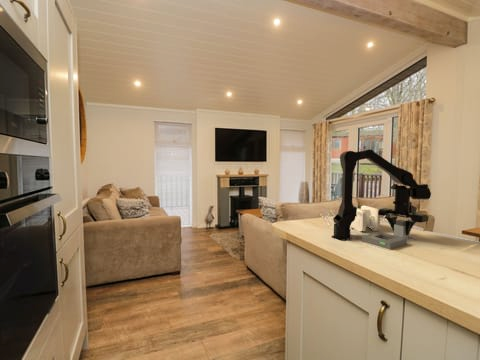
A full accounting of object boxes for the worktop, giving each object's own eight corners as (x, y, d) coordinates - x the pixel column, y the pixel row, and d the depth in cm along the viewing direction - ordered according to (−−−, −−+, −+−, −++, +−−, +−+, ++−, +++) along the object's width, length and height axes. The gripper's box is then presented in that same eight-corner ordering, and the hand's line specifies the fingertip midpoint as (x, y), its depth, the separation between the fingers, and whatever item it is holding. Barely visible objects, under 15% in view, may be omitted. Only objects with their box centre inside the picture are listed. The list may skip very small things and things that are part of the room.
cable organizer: (381, 233, 124) (382, 209, 124) (361, 234, 123) (361, 210, 122) (363, 225, 139) (363, 204, 138) (344, 226, 138) (345, 205, 137)
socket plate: (361, 242, 110) (362, 235, 110) (378, 238, 116) (378, 231, 116) (389, 250, 100) (390, 243, 100) (406, 245, 106) (406, 238, 106)
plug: (393, 237, 115) (394, 220, 115) (398, 236, 117) (399, 219, 117) (402, 240, 112) (403, 222, 111) (407, 238, 114) (408, 220, 113)
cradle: (386, 238, 116) (386, 234, 116) (396, 235, 120) (396, 232, 120) (405, 243, 109) (405, 239, 109) (415, 240, 113) (415, 236, 113)
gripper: (435, 200, 109) (433, 236, 110) (391, 195, 126) (390, 226, 127) (422, 202, 104) (420, 240, 105) (377, 197, 120) (376, 230, 121)
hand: (400, 233), depth 115 cm, fingers open, 5 cm apart
